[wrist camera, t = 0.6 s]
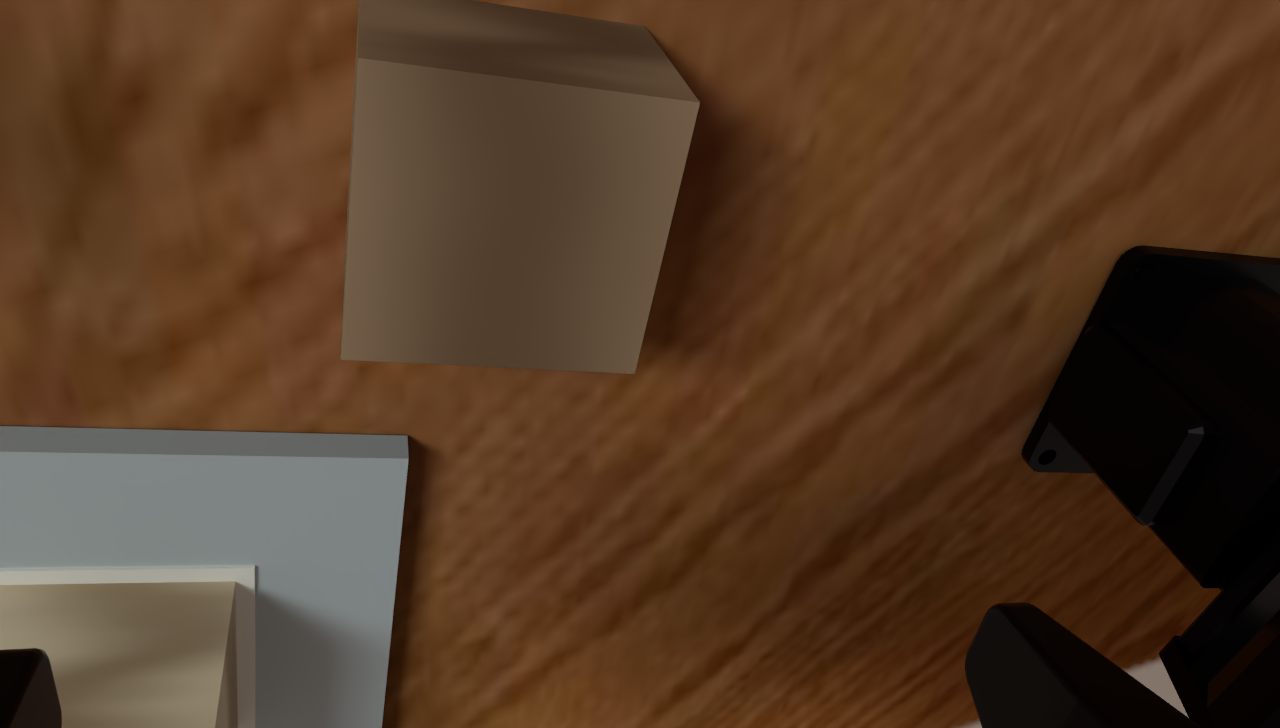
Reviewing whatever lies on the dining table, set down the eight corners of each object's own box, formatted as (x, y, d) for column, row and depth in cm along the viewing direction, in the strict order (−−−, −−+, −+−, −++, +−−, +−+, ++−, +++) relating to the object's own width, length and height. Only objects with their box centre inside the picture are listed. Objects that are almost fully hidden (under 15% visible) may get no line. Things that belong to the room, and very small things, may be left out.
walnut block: (643, 24, 19) (700, 102, 15) (594, 264, 21) (634, 373, 18) (360, -19, 17) (357, 57, 14) (345, 245, 20) (341, 359, 17)
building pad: (407, 435, 23) (408, 461, 22) (374, 770, 29) (375, 799, 28) (-250, 420, 19) (-274, 450, 18) (-123, 804, 25) (-137, 837, 25)
